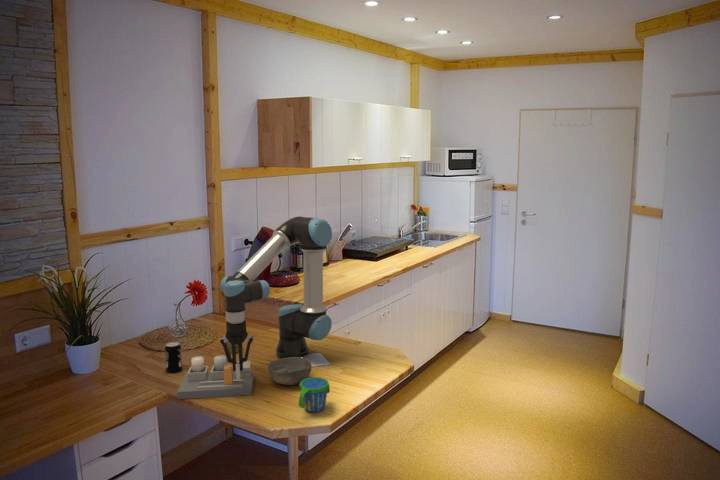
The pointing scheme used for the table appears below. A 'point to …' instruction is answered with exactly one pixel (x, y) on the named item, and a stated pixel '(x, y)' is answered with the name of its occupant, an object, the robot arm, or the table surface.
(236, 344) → the green figurine
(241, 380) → the console
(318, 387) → the snack cup
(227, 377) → the orange slider
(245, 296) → the robot arm
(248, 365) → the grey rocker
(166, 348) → the beverage can
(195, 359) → the white rounded cube
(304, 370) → the bowl
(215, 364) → the pale blue rounded cube
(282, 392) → the table surface
